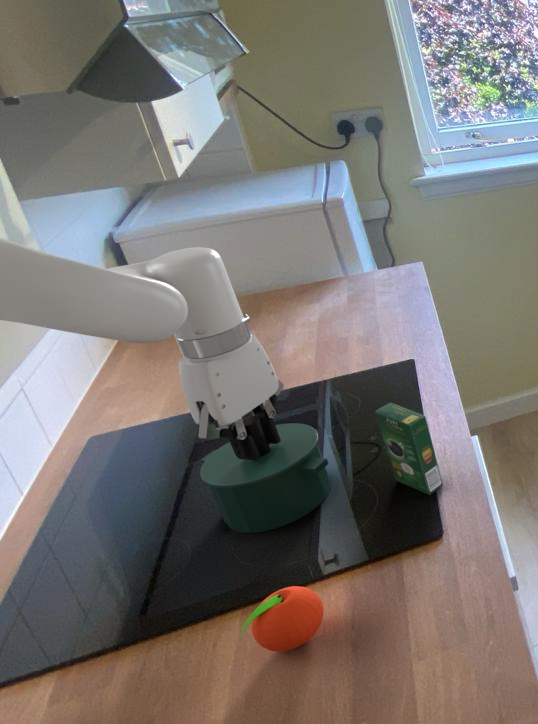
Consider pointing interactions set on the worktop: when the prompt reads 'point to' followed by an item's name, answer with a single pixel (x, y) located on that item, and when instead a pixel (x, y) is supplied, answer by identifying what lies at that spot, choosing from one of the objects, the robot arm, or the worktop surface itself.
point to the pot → (275, 497)
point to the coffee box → (409, 448)
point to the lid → (273, 460)
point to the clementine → (286, 618)
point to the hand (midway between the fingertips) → (259, 449)
